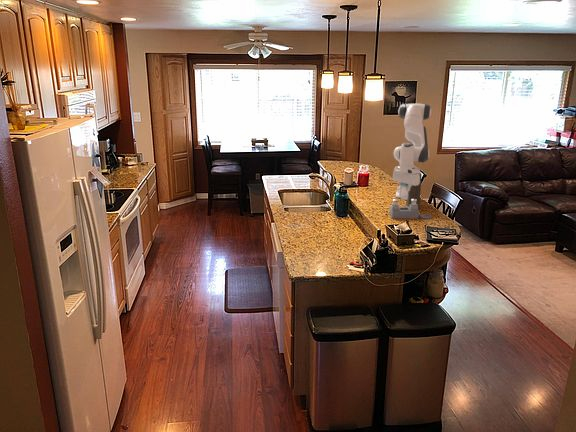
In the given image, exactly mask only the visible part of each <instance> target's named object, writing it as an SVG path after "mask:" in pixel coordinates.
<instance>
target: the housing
mask: <svg viewBox="0 0 576 432" xmlns="http://www.w3.org/2000/svg"><path fill="white" fill-rule="evenodd" d="M388 215H389V216H390V218H391V219H395V220H397V219H420V218H419V215H420V209H418V205H417V204H416V206H411V204H409V207H407V206H400V205H399V204H398V203H397V206H393V203H391V204H390V206H389V213H388Z"/></svg>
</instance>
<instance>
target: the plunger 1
mask: <svg viewBox="0 0 576 432" xmlns="http://www.w3.org/2000/svg"><path fill="white" fill-rule="evenodd" d="M398 202H399V199H398V198H392V204H393V206H397V204H398Z"/></svg>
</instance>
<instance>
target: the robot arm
mask: <svg viewBox="0 0 576 432" xmlns="http://www.w3.org/2000/svg"><path fill="white" fill-rule="evenodd" d="M431 107H432V106H431V105H429V104H428V103H427V104H426V103H424V104H423V103H401V104H400V105H399V107H398V110H397V113H398V117H399V118H400V119H402V120H404V121H403V126H404V129H405V130H404V138H405V139H406V140H407V141H409V142H407V141H406V142H402V144H401V146H397V147H395V148H394V150H393V152H392V153H393V157H394V159H395V160H396V161H398V163H399V166H395V167H394V168H393V173H392V180H393V182H394V181H395V182H398V186H397V187H396V192H395V198H396V199H398V198H400V199H401V192H402V183H406V184H408V188H407V191H410V188H411V186H412V185H414V186H417V185H419V183H420V175H419V173H420V172H421V170H420V169H419V168H418V167H417V166H416V165H414V163H416V162H418V163H426V162H427V161H428V160H429V159H430V149H429V143H428V142H429V141H428V135H427V128H426V126H425V125H423V121H425V120H428V119H429V118H430V117H431V116H432V108H431ZM420 198H422V195H421V194H420Z"/></svg>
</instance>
